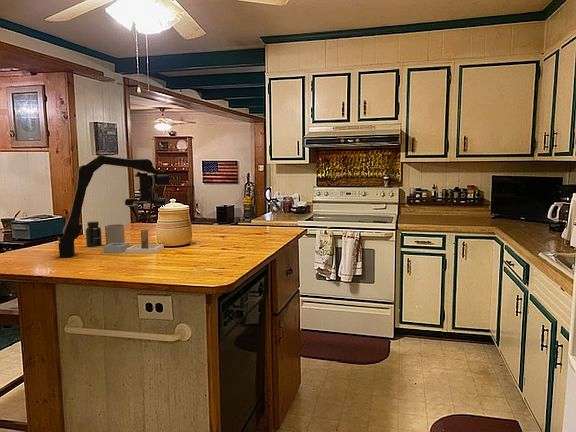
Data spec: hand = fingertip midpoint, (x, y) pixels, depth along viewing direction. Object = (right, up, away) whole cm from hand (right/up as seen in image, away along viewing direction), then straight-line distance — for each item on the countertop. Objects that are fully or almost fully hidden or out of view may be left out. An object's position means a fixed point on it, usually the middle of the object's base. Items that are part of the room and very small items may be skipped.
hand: (148, 220), depth 202 cm
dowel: (+1, -13, -7) cm, 15 cm away
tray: (+1, -14, -7) cm, 16 cm away
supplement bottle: (-28, -13, +6) cm, 31 cm away
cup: (-18, -13, +7) cm, 23 cm away
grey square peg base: (-11, -14, -8) cm, 20 cm away
